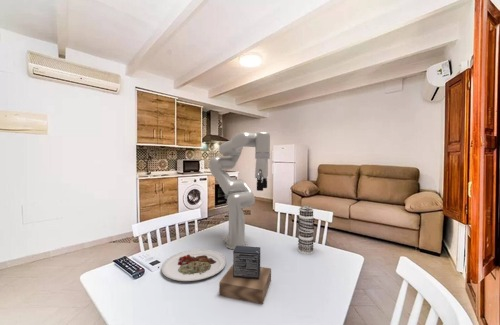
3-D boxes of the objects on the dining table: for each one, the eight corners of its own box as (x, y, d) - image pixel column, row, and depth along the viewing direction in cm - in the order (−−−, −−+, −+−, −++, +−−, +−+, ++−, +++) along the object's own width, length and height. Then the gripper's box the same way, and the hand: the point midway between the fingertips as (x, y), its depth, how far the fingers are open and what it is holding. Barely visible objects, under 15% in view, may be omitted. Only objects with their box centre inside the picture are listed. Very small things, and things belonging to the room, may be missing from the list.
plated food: (212, 289, 86) (212, 280, 86) (146, 279, 92) (146, 272, 92) (233, 255, 116) (233, 249, 116) (182, 250, 122) (182, 244, 122)
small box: (260, 271, 90) (261, 246, 90) (259, 279, 84) (259, 253, 84) (236, 269, 92) (236, 244, 92) (232, 277, 85) (232, 251, 85)
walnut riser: (219, 295, 82) (219, 282, 82) (233, 273, 97) (234, 262, 97) (262, 303, 77) (263, 290, 77) (271, 279, 93) (271, 268, 93)
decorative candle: (306, 255, 116) (307, 209, 116) (294, 249, 124) (294, 206, 124) (317, 251, 121) (318, 207, 121) (305, 246, 129) (305, 204, 129)
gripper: (259, 156, 121) (259, 186, 121) (250, 156, 104) (250, 191, 104) (272, 156, 119) (272, 187, 119) (266, 156, 102) (265, 192, 102)
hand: (262, 189), depth 112 cm, fingers open, 9 cm apart
